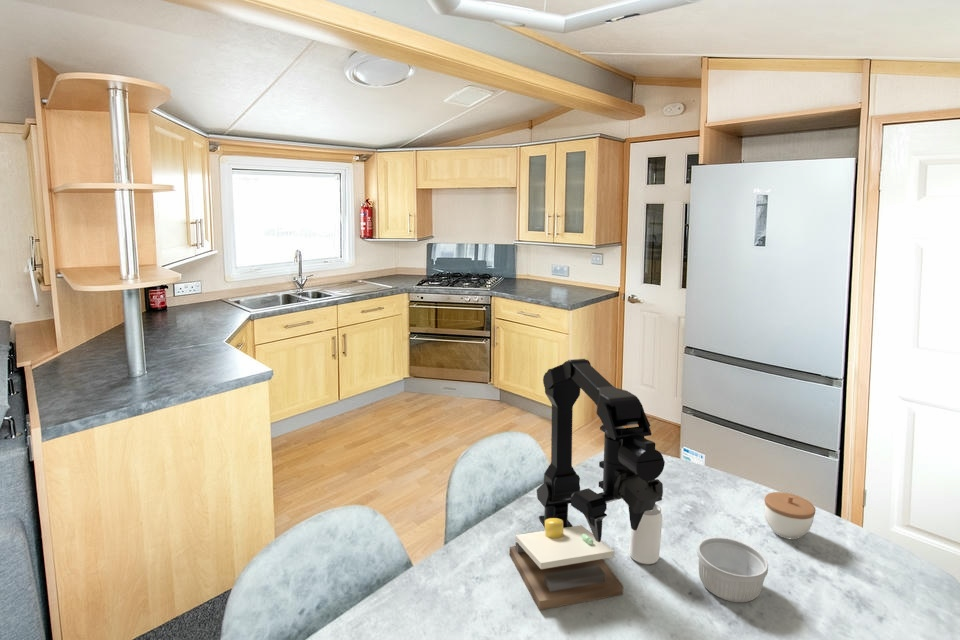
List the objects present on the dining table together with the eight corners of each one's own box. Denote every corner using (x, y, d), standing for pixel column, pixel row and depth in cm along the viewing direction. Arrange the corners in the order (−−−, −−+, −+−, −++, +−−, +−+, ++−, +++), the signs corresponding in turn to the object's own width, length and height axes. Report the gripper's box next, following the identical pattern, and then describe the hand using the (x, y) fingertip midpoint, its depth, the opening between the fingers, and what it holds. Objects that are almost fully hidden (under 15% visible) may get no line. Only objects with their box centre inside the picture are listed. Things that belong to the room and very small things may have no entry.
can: (660, 567, 121) (664, 517, 119) (629, 563, 122) (633, 513, 120) (657, 549, 127) (661, 501, 125) (627, 546, 128) (631, 498, 126)
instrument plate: (515, 540, 123) (514, 521, 123) (581, 530, 127) (581, 512, 127) (540, 569, 109) (540, 547, 109) (614, 556, 113) (613, 536, 113)
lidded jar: (798, 521, 140) (803, 487, 138) (819, 546, 129) (825, 510, 128) (754, 518, 141) (758, 484, 139) (771, 543, 130) (776, 507, 129)
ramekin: (759, 573, 120) (763, 544, 118) (769, 615, 108) (773, 583, 106) (694, 560, 124) (696, 531, 123) (695, 598, 112) (699, 567, 110)
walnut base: (509, 554, 125) (509, 539, 124) (582, 543, 129) (583, 528, 129) (539, 610, 108) (539, 593, 107) (622, 594, 112) (623, 578, 112)
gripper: (609, 485, 96) (606, 569, 98) (686, 465, 104) (682, 542, 107) (570, 463, 105) (568, 540, 108) (643, 445, 114) (640, 517, 116)
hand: (616, 535), depth 109 cm, fingers open, 9 cm apart
